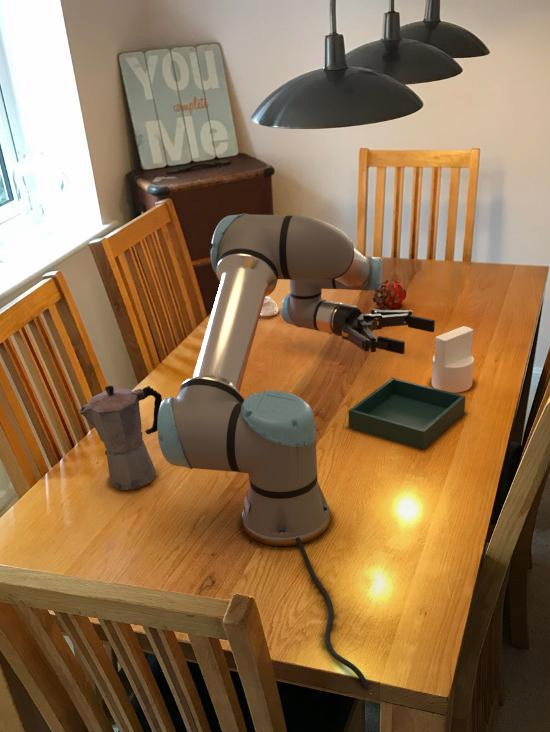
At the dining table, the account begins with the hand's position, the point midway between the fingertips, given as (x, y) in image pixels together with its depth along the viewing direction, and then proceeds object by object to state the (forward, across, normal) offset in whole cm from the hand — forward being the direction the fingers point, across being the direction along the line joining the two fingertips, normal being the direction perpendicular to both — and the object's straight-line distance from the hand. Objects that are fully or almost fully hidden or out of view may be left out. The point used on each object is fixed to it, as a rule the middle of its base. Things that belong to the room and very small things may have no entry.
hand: (419, 336), depth 187 cm
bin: (+9, +20, -9) cm, 24 cm away
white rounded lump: (-55, -13, -10) cm, 57 cm away
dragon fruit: (-27, -33, -10) cm, 44 cm away
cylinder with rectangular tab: (+9, 0, -10) cm, 13 cm away
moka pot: (-25, +67, -9) cm, 72 cm away
